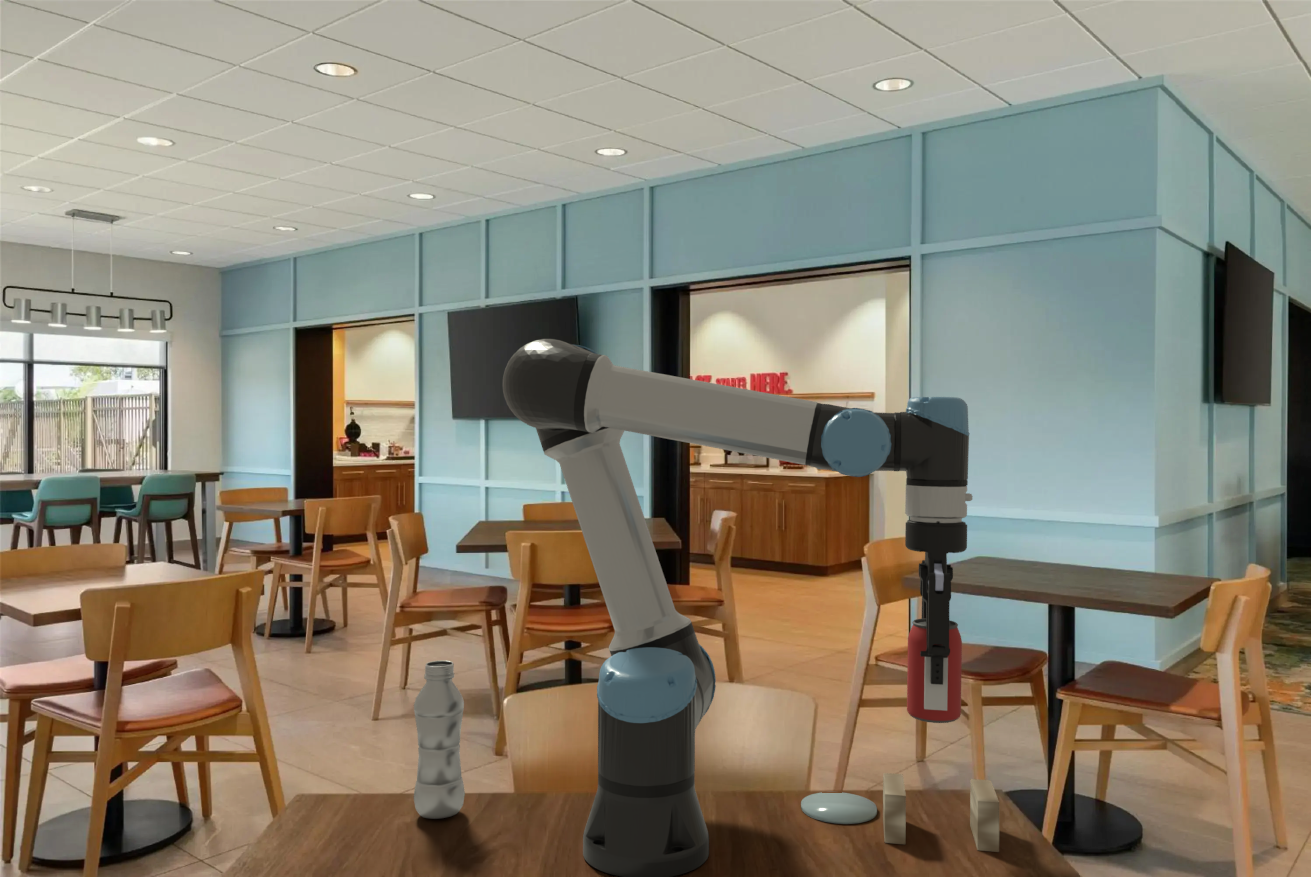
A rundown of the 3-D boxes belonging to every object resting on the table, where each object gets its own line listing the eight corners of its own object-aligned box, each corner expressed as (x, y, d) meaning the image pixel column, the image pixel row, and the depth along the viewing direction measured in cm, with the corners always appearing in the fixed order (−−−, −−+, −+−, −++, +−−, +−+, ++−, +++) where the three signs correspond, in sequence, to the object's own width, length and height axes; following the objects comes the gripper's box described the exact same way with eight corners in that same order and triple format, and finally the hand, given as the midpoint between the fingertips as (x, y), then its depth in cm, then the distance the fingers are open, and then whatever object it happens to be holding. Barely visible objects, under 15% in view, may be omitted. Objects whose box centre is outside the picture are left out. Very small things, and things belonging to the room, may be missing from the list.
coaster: (799, 820, 133) (799, 816, 133) (802, 794, 142) (803, 789, 142) (877, 826, 131) (877, 822, 131) (876, 799, 141) (876, 794, 141)
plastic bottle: (475, 812, 135) (475, 661, 135) (438, 829, 129) (439, 671, 129) (439, 802, 138) (440, 655, 138) (402, 818, 133) (403, 665, 133)
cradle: (884, 842, 126) (884, 794, 126) (882, 818, 134) (883, 773, 134) (998, 852, 123) (999, 802, 123) (990, 826, 131) (990, 780, 131)
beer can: (963, 726, 125) (964, 628, 125) (907, 722, 126) (909, 625, 126) (958, 711, 131) (959, 618, 131) (905, 708, 132) (907, 616, 132)
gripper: (975, 527, 118) (972, 725, 118) (959, 514, 137) (957, 684, 137) (909, 525, 120) (906, 720, 120) (902, 512, 139) (900, 681, 139)
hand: (933, 701), depth 129 cm, fingers closed on beer can, 7 cm apart
